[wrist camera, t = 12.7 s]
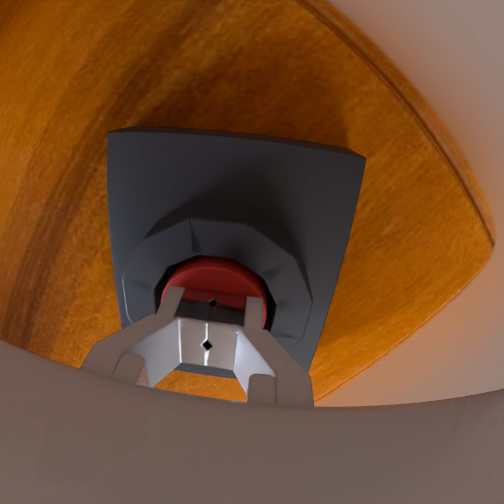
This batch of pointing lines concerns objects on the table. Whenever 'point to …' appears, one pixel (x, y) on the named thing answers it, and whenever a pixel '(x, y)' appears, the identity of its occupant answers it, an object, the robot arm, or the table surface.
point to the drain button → (218, 278)
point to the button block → (232, 220)
